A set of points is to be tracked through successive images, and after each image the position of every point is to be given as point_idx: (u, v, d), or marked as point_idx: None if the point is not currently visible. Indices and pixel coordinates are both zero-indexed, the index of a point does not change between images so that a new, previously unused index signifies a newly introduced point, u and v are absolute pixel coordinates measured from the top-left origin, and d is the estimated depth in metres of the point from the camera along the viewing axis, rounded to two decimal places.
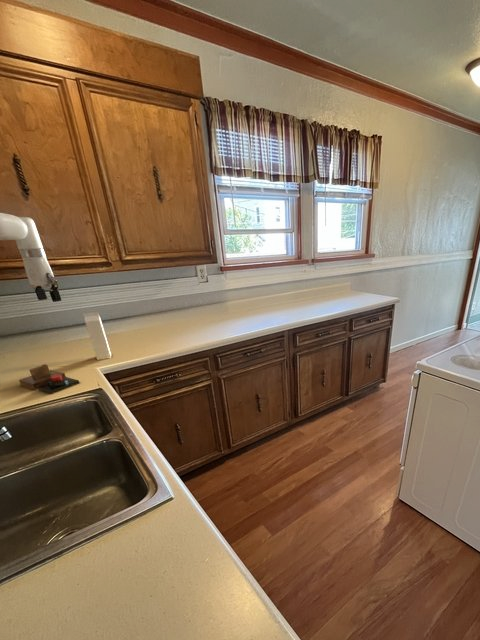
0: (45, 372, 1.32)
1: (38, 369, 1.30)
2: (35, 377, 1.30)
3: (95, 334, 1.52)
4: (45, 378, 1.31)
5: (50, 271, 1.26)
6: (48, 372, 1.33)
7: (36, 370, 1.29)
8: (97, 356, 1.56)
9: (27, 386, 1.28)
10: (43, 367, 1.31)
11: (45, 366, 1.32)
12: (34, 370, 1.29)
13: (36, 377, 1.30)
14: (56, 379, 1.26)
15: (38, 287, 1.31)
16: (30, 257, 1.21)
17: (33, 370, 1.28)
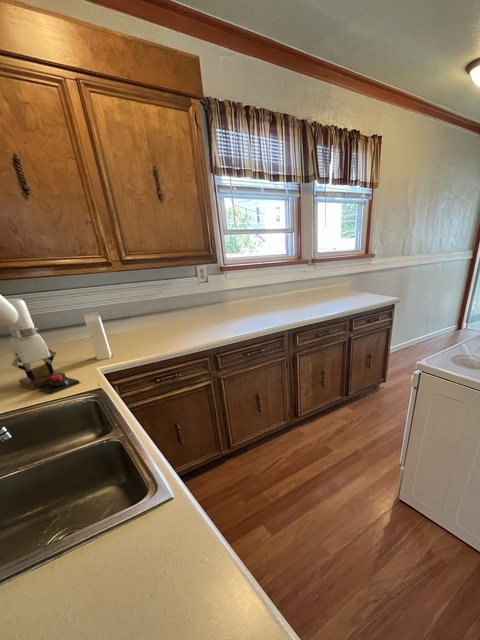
0: (45, 372, 1.32)
1: (38, 369, 1.30)
2: (35, 377, 1.30)
3: (95, 334, 1.52)
4: (45, 378, 1.31)
5: (18, 352, 1.22)
6: (48, 372, 1.33)
7: (36, 370, 1.29)
8: (97, 356, 1.56)
9: (27, 386, 1.28)
10: (43, 367, 1.31)
11: (45, 366, 1.32)
12: (34, 370, 1.29)
13: (36, 377, 1.30)
14: (56, 379, 1.26)
15: (46, 361, 1.33)
16: None
17: (33, 370, 1.28)
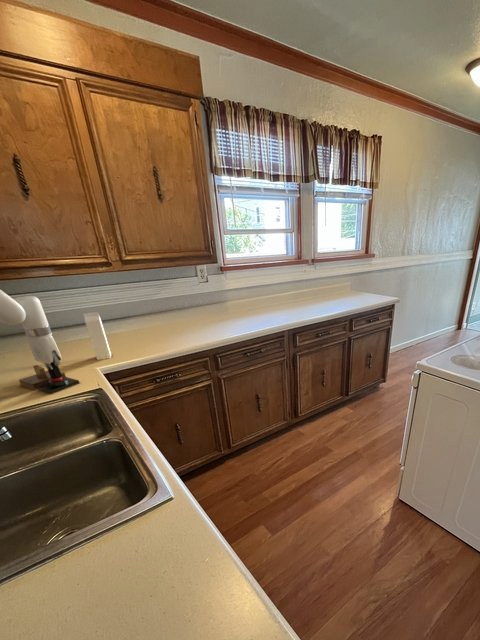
0: None
1: None
2: (46, 375, 1.31)
3: (95, 334, 1.52)
4: (45, 378, 1.31)
5: (56, 348, 1.21)
6: None
7: None
8: (97, 356, 1.56)
9: (27, 386, 1.28)
10: None
11: None
12: None
13: None
14: None
15: None
16: (35, 337, 1.16)
17: None
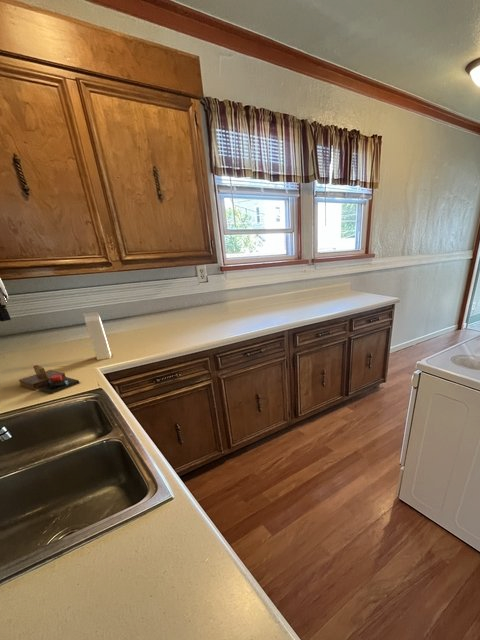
0: None
1: None
2: (46, 375, 1.31)
3: (95, 334, 1.52)
4: (45, 378, 1.31)
5: (1, 284, 1.10)
6: None
7: None
8: (97, 356, 1.56)
9: (27, 386, 1.28)
10: None
11: None
12: None
13: None
14: (56, 379, 1.26)
15: None
16: None
17: None
